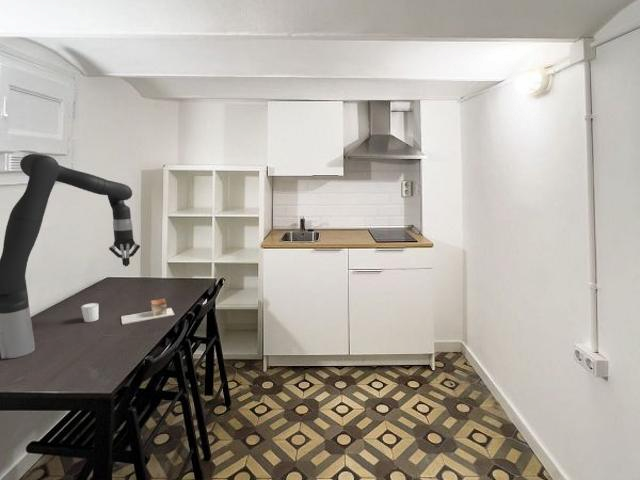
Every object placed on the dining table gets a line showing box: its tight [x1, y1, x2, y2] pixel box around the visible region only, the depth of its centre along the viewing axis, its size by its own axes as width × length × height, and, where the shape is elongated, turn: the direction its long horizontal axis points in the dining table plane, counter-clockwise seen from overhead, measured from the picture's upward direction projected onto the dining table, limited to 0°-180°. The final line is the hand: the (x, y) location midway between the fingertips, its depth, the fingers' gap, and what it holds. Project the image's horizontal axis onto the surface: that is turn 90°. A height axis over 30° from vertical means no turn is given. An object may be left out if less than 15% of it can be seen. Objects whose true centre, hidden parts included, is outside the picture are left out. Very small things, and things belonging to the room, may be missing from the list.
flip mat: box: [121, 307, 175, 325], centre depth 167 cm, size 22×10×1 cm, turn 121°
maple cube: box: [150, 298, 168, 316], centre depth 169 cm, size 6×6×6 cm
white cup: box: [80, 302, 100, 323], centre depth 162 cm, size 7×7×7 cm
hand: (126, 265), depth 161 cm, fingers closed
